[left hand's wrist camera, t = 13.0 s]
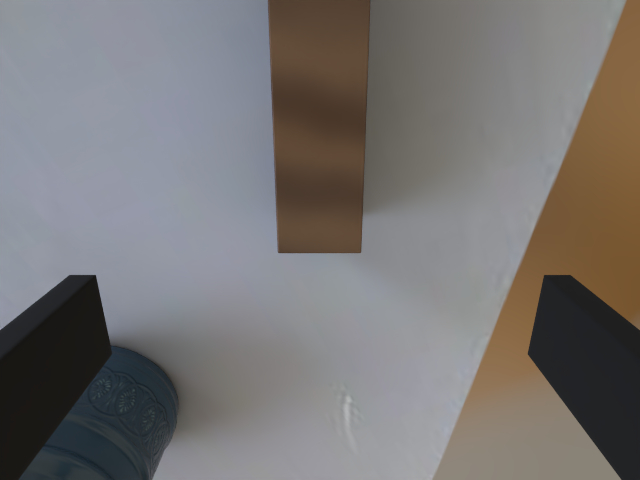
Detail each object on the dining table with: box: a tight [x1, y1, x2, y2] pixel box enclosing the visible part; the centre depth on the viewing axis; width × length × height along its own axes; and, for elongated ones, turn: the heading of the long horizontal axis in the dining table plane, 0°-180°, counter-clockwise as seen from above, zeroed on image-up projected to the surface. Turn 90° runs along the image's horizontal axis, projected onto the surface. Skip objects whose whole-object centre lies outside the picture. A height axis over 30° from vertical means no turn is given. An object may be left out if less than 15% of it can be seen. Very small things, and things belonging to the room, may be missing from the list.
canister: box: [19, 346, 178, 480], centre depth 33 cm, size 13×13×18 cm
